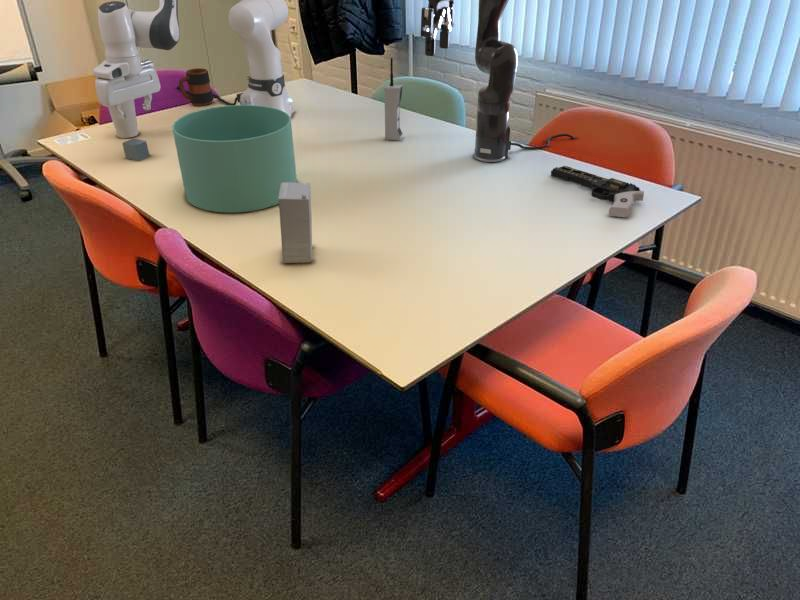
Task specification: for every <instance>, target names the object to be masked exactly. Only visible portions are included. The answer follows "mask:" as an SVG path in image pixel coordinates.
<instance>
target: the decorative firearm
mask: <svg viewBox="0 0 800 600" xmlns="http://www.w3.org/2000/svg"><path fill="white" fill-rule="evenodd" d="M550 176H551V177H553V178H556V179H559V180H563V181H565V182H571V183H574V184H577V185H580V186H582V187H584V188H588V189H590V192H591V195H590V196H591V197H592V198H595V199H597V200H600V201H609V202H612V203H613V204H612V205H611V206H610V207H609V208H608V215H609V216H611V217H619V218H626V217H628V216H629V215H630V214H631V212H632V211H633V208H634V202H643V201H644V196H645V190H640V189H641V188H640V187H638V186H637V185H636V184H634V183H632V182H630V183H629V182H626V181H623V180H619V179H616V178H614V177H610V178H605V177H603V176H599V175H596V174H593V173H590V172H587V171H583V170H581V169H576V168H573V167H571V166H568V165H563V166H559V167H558V166H556V167H553V168H552V170H551V171H550Z"/></svg>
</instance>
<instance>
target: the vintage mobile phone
mask: <svg viewBox="0 0 800 600" xmlns="http://www.w3.org/2000/svg"><path fill="white" fill-rule="evenodd" d="M393 60H394V59H393V57H390V74H389V76H390V78H389V79H390V80H389V82H390V83H388V84H386V86H385V87H383V88H384V138H385V140H386V141H401V139H403V131H402V129H401V125H400V124H401V123H400V121H401V120H400V119H401V117H400V115H401V111H400V106H401V105H400V104H401V101H402V97H403V96H402V95H403V84H394V72H393V71H394V70H393V69H394V67H393V66H394V65H393V64H394V63H393Z"/></svg>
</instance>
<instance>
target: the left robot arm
mask: <svg viewBox="0 0 800 600" xmlns="http://www.w3.org/2000/svg"><path fill="white" fill-rule="evenodd" d="M178 1H179V0H158V3H159V6H158V9H156V10H154V11H141V10H134V9H130V8H129V7H128V5H127V4H126V3H125V1H124V2H123V1H118V0H111V1H108V2H104V3H102V4H100V5H99V6H98V8H97V20H98V27H99V34H100V38H101V41H102V42H103V44H104V48H105V53H104V54H105V59H104V60H103V61H102V62H101V63H99V65H97V66H95V68H93V70H92V74H93V77H95V83H94V85H95V91H96V92H95V93H96V98H97V100H98V103H99V104H100V105H101V106H103V107H107V108H108V107H112V108H113V109H114V110H115V111H116V112H117V114H118V118H119V119H125V118H126V112H122V110H121V109H120V108H121V103H124V102H128V101H131V100H134V101H135V100H136V99H140V98H142V97H143V98H144V101H143V103H142V104H141V105H142V109H143V111H145V112H147V111H151V110H152V107H151V106H152V105H151V103H152V100H153V94H155V93H158V92H160V90H161V82H160V78H159V76H158V73H157V70H156V66H155V63H154V62H153V61H152V60H150V59H144V60H141V56H140V52H139V49H138V48H143V49H144V48H145V49H156V50H164V51H171V50H172V49H173V48H175V46H176V45H177V44H178V43H179V41H180V38H181V33H180V24H179V23H180V22H179V5H178V4H179V2H178ZM288 17H289V6H288V5H287V2H286V1H285V0H239V2H237V3H236V4H234V5H233V6H232V7H231V8H230V10H229V13H228V22H229V26H230V28H231V30H232V31H233V32H234V33H235V34H236V35H237V36H238V37H239V38H240V40H241V42H242V44H243V47H244V50H245V54H246V58H247V65H248V72H249V75H248V76H246V78H247V79H246V80H247V81H248V82H247V88H246V89H245V90H244V91H243V92H240V93H236V97H235V98H234V101H233V103H230V102H229V101H226V100H225V99H224V98H221V97H220V96H219V95H218V94H215V93H212V94H213V98H217V99H218V100H219V101H220V102H222V103H223V104H225V105H226V106H229V105H237V104H239V105H258V106H267V107H272V108H276V109H279V110H282V111H284V112H285V113H287V114H288V115H289V116H290V118H292V115H293V114H294V112H295V110H294V108H292V107H291V103H292V102H293V99H292V98H290V95H289V91H288V89H287V88H286V87H285V86H286V80H285V79H286V78H285V75H284V74H283V65H282V54H281V51H280V49H278V48H277V46H276V45H275V44H274V41H273V39H272V35H271V31H273V30H277V29H279V28H280V27H281V26H282V25H283V24H284V23H286V21H287V20H288ZM176 90H180V88H179V85H177V86H176ZM185 91H186V93H187V94H189V90H187V89H185Z"/></svg>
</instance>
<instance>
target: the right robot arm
mask: <svg viewBox="0 0 800 600" xmlns="http://www.w3.org/2000/svg"><path fill="white" fill-rule="evenodd" d="M427 1H428V3H427V7H422V8H421V12H420V13H421V15H420V37H422V38H424V39H425V40H424V43H425V44H424V45H425V46H424V48H425V49H424V50H425V51H424V54H425V56H426V57H434V56H435V55H436V41H437V39H436V37H437V34H438V31H439V48H441V49H449V48H450V37H451V36H450V32H452V28H454V27H455V11H456V9H455V7H456V5H455V4H456V2H455V0H427ZM509 1H510V0H478V11H477V13H478V15H477V28H476V29H477V30H476V40H475V49H474V60H475V61H474V62H475V65H476V67H477V69H478V70H479V71H480V72H481V73H484V74H487V75H489V77H488V78H489V79H488V84H487V85H486V86H482V87H480V88H479V89H478V94H477V108H476V125H475V139H474V141H475V142H474V153H473V158H474V159H476V160H477V161H481V162H484V163H497V162H502V161H504V160H505V159H508V158H509V151H511V149H512V146H516V147H519V148H520V149H522V150H543V149H546V148H549V146H550V140H553V139H557V138H560V137H568V138H571V139H572V140H576V138H575V137H574V135H572V134H569V133H560V134H559V133H558V134H555V135H551V136H549V137H547V138H546V140H545V141H546V144H544V145H540V146H524V145H522V144H520V143H518V142H512V141H511V140H510V137H511V136H510V135H511V127H510V125H509V117H510V107H511V106H510V105H511V96H512V94H513V93H514V90H515V85H516V78H517V71H518V64H519V57H518V56H519V55H518V51H517V48H516V47H515V45H513V44H512V43H510V42H506V41H502V40H501V20H502V16H503V14H504V11H505V9H506V7H507V5H508V3H509Z"/></svg>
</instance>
